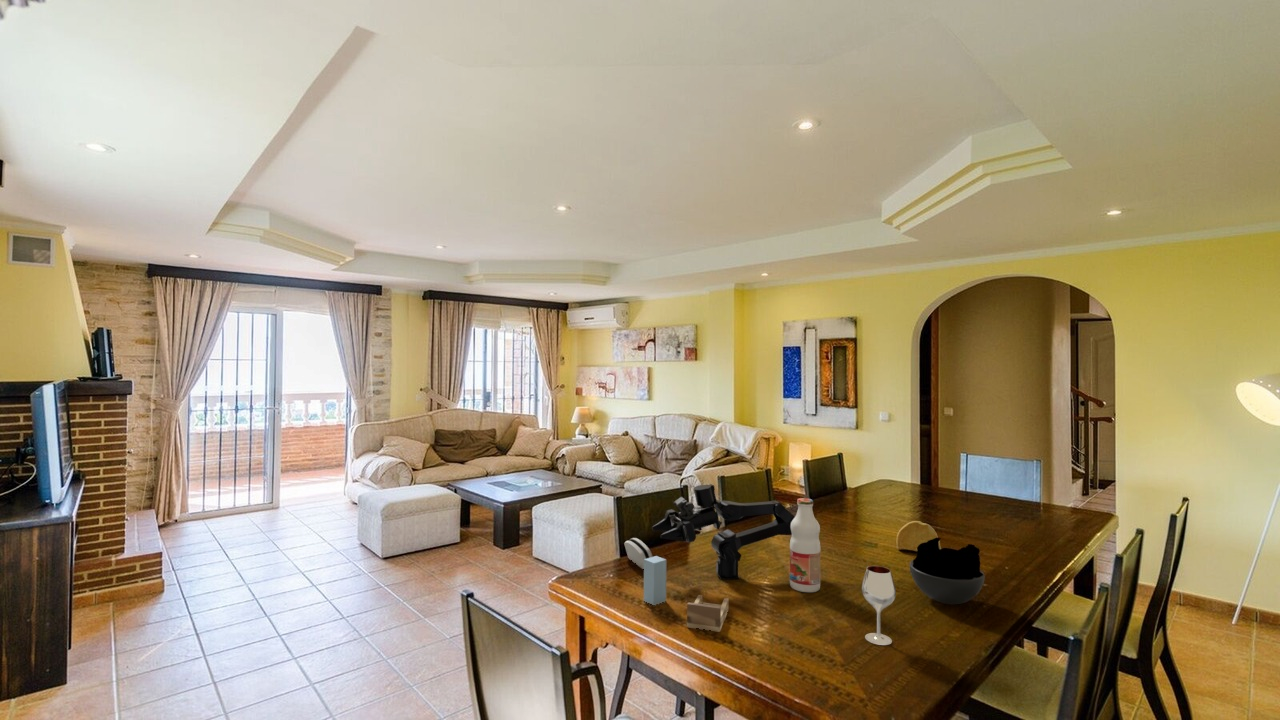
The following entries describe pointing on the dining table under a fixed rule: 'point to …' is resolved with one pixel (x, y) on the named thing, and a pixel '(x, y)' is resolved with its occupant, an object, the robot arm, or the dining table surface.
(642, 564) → the white arched piece
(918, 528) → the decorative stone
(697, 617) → the channel
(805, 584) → the fruit juice
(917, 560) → the coal bowl
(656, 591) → the light blue block
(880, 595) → the wineglass
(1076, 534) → the dining table surface
